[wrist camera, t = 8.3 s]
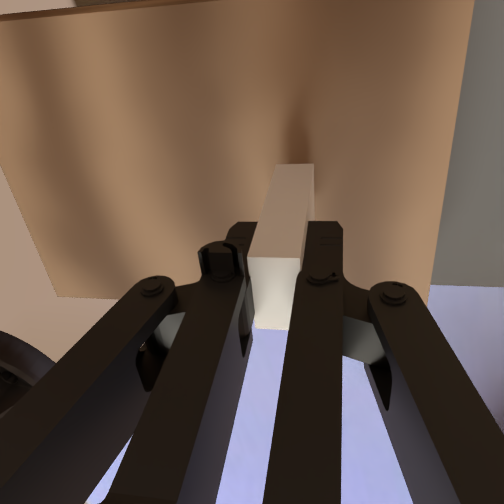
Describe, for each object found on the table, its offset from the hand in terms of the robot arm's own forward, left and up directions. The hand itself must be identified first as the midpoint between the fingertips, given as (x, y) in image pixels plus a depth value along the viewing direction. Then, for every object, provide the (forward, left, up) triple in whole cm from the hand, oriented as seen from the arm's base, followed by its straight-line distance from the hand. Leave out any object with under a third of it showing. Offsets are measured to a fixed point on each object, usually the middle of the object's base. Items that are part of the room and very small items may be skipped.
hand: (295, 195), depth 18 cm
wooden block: (-4, 0, -5) cm, 6 cm away
